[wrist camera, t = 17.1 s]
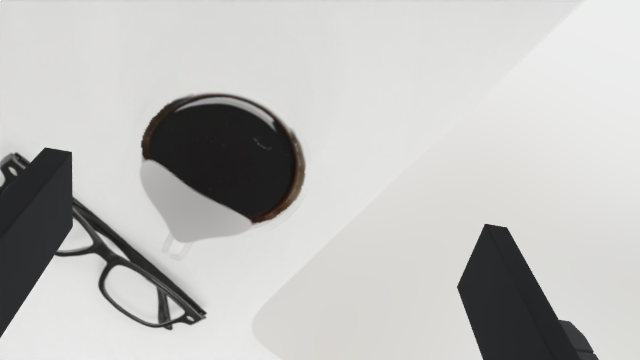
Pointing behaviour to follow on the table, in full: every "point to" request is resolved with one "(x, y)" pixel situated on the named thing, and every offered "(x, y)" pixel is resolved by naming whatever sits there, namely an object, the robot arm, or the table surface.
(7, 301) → the robot arm
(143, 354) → the table surface
